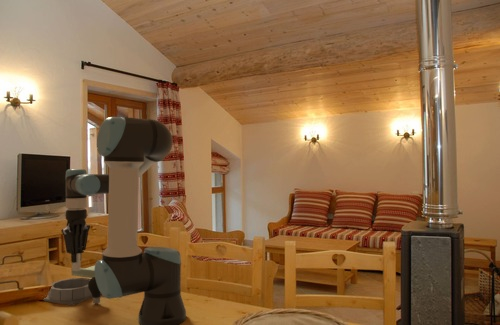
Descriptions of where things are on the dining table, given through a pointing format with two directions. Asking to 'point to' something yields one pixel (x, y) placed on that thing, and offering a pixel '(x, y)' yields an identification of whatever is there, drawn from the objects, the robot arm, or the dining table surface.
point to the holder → (69, 291)
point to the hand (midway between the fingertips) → (76, 270)
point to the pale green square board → (85, 272)
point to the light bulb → (94, 291)
